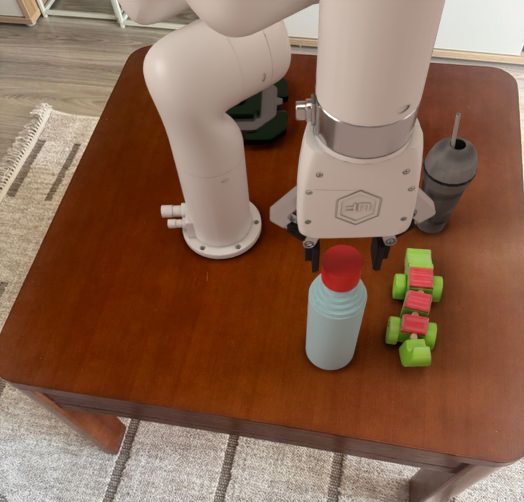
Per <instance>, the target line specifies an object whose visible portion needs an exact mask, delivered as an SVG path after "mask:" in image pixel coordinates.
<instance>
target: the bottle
mask: <svg viewBox="0 0 524 502" xmlns="http://www.w3.org/2000/svg"><path fill="white" fill-rule="evenodd" d="M307 296H308V299H307V317H306V335H305V353H306V357H307V358H308V360H309V361H310V362H311V363H312V364H313V365H314V366H315V367H317V368H319V369H322V370H325V371H337V370H339V369H342V368H344V367H346V366H347V365H349V363H350V362H351V361H352V360H353V358H354V354H355V350H356V348H357V347H356V346H357V343H358V337H359V334H360V329H361V326H362V322H363V317H364V313H365V309H366V304H367V301H368V291H367V288H366V286H365V283H364V282H363V280H362V279H361V278H360V280H359V283H358V285H357V286H356V287H355V288H354V289H352V290H350V291H348V292H343V293H339V292H334V291H332V290H330V289H328V288H327V287H326V286H325V285H324V284H323V282H322V279H321V273H319V274H318V275H317V276H316V277H315V278H314V279H313V281H311V284H310V286H309V288H308V295H307Z"/></svg>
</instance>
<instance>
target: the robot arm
mask: <svg viewBox="0 0 524 502" xmlns="http://www.w3.org/2000/svg"><path fill="white" fill-rule="evenodd" d="M117 2H118V4H119V6H120V7H121V9H122V11H123V12H124V13H125V14H126V15H127V17H128V18H129V19H130V20H131V21H132V22H134V23H136V24H138V25H141V26H150V25H155V24H158V23H161V22H164V21H166V20H170V19H171V18H173V17H176V16H178V15H180V14H183V13H185V12H187V11H190V10H192V11H193V13H195V14H196V16H197V17H198V19H196V20H194V21H192V22H189V23H188V24H185V25H182V26H181V27H179V28H177V29H174V30H173V31H170V32H169V33H168V34H166V35H163V37H161V38H159V39H158V40H156V42H155V43H154V44H153V45H152V46H151V47H150V48H149V50H148V51H147V53H146V54H145V57H144V59H143V66H142V73H143V77H144V81H145V85H146V88H147V90H148V92H149V95H150V98H151V99H152V101H153V104H154V106H155V107H156V110H157V112H158V115H159V117H160V119H161V122H162V124H163V126H164V130H165V132H166V135H167V138H168V142H169V145H170V149H171V152H172V156H173V161H174V163H175V168H176V171H177V176H178V179H179V184H180V188H181V192H182V195H183V199H184V202H181V203H180V205H178V204H177V205H174V204H161V206H160V214H161V218H162V219H164V218H165V219H166V218H167V228H168V229H177V228H182V234H183V239H184V240H185V243H186V245H187V246H188V247H189V248H190V249H191V250H192V251H193V252H194V253H196V254H198V255H199V256H202V257H204V258H208V259H213V260H225V259H231V258H234V257H238V256H240V255H242V254H244V253H247V251H248V250H250V249H251V248H252V247H253V246H254V245H255V244H256V242H257V241H258V239H259V238H260V235H261V232H262V218H261V214H260V211H259V209H258V208H257V206H255V204H254V203H253V202H251V201H250V193H249V185H248V174H247V166H246V157H245V156H246V153H245V145H244V140H243V137H242V133H241V131H240V128H239V127H238V125H237V123H236V122H235V121H234V120H233V119H232V118H231V117H230V116H229V115H228V114H226V113H225V112H226V111H227V110H228V109H230V108H231V107H233V106H235V105H237V104H239V103H240V102H242V101H243V100H245V99H247V98H249V97H251V96H253V95H255V94H257V93H259V92H260V91H262V90H264V89H266V88H268V87H269V86H271V85H273V84H275V83H276V82H278V81H279V80H280V79H281V78H282V77H285V75H287V73H288V71H289V69H290V66H291V61H292V48H291V47H292V46H291V41H290V36H289V34H288V30H287V26H286V24H285V21H284V20H285V19H287V18H289V17H291V16H293V15H295V14H297V13H299V12H301V11H303V10H305V9H308V8H309V7H311V6H314V5H318V24H317V25H318V26H317V28H318V29H317V53H316V69H315V71H316V72H315V83H314V93H311V94H310V98H305V100H295V121H305V123H306V126H305V129H304V133H303V136H302V141H301V146H300V151H299V158H298V165H297V176H296V177H297V178H296V185H295V186H294V187H292V188H291V189H290V190H289V191H288V192H287V193H285V194H284V195H283V196H281V198H279V199H278V200H277V201H276V202H274V203H273V204H272V205H271V206H270V207H269V221H270V222H272V223H273V224H275V225H276V226H278V227H280V228H282V229H286V232H287V233H288V234H289V235H291V236H292V237H294V238H296V239H298V240H299V241H301V242H302V246H303V248H304V262H310V263H311V265H310V266H311V273H315V274H317V273H318V272H319V270H320V260H321V259H320V258H321V242H320V241H321V239H355V238H356V239H357V238H371V242H370V246H369V247H370V248H369V249H370V250H369V251H370V259H371V266H372V267H371V268H372V270H374V271H375V272H380V271H381V268H382V265H383V260H387V259H388V258H389V254H390V250H391V247H392V246H394V245H396V243H397V242H398V240H397V239H398V238H400V237H402V236H403V235H405V234H406V233H408V232H410V231H412V230H413V229H415V227H416V225H417V223H418V224H419V223H421V222H423V221H425V220H427V219H429V218H431V217H432V216H434V215H435V214H436V211H435V206H434V202H433V200H432V199H431V198H430V197H429V196H427V195H426V194H425V193H424V192H423V191H422V190H421V187H419V186H420V181H421V173H422V166H423V155H424V132H423V129H422V127H421V124H420V120H419V119H418V114H419V110H420V106H421V102H422V98H423V93H424V90H425V85H426V81H427V78H428V73H429V69H430V65H431V62H432V60H431V59H432V57H433V52H434V48H435V44H436V40H437V36H438V32H439V28H440V24H441V19H442V15H443V11H444V7H445V3H446V0H117ZM180 217H181V219H180ZM176 218H179V219H176Z"/></svg>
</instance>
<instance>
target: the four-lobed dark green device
mask: <svg viewBox="0 0 524 502" xmlns="http://www.w3.org/2000/svg"><path fill="white" fill-rule="evenodd" d="M288 102H289V81H288V79H287V78H286V77H285V76H283V77H282V78H281V79H280V80H279V81H278V82H276V83H275V84H273V85H271V86H269V87H268V88H266V89H264V90H262V91H260V92H259V93H257V94H255V95H253V96H251V97H249V98H247V99H245V100H243V101H242V102H240V103H239V104H237V105H235V106H233V107H231V108H230V109H228V110H227V111H226V112H225V113H226V114H228V115H229V116H230V117H231V118H232V119H233V120H234V121H235V122H236V123H237V125H238V127H239V128H240V131H241V133H242V137H243V141H245V145H246V146H271V145H274V144H275V143H276V142H278V141H280V140H281V139H282V138H283V137H285V136H287V134H288V118H289V117H288V114H289V113H288V111H287V110H284V104H287V103H288Z"/></svg>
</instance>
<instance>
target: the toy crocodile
mask: <svg viewBox="0 0 524 502" xmlns="http://www.w3.org/2000/svg"><path fill="white" fill-rule="evenodd" d="M432 259H433V258H432V250H431V249H425V248H424V249H423V248H412V247H406V249H405V255H404V273H395V274H394V276H393V281H392V299H394V300H403V303H402V307H401V311H400V315H399V316H392V315H391V316H389V318H388V321H387V326H386V332H385V344H389V345H394V346H395V345H397V344H398V342H399V343H402V344H400V346H399V347H398V352H399V357H400V358H399V359H400V363H401V365H402V366H403V367H405V368H409V367H410V368H411V367H413V368H416V367H431V365H432V353H431V351H433V349H434V347H435V344H436V340H437V333H438V324H437V323H436V322H430V318H429V317H428V316H429V314H430V311H431V306H432V303H439V302H440V301H441V298H442V294H443V288H444V279H443V276H440V275H434V267H435V266H434V264H433V260H432Z"/></svg>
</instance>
